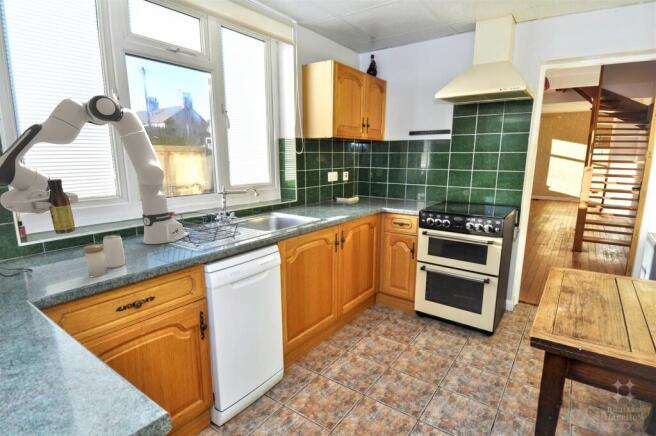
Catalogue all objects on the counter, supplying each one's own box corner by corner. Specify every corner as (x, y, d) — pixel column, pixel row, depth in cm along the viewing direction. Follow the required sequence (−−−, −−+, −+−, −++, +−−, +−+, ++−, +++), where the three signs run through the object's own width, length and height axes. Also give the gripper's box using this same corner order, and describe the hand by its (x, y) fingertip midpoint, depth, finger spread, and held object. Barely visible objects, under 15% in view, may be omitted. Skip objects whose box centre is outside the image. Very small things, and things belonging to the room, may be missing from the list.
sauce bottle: (58, 231, 129) (47, 179, 125) (78, 229, 132) (67, 177, 127) (51, 235, 123) (40, 180, 119) (72, 233, 126) (61, 179, 121)
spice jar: (100, 270, 131) (95, 243, 128) (111, 272, 129) (107, 244, 126) (84, 276, 125) (79, 248, 123) (96, 277, 123) (91, 249, 121)
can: (129, 262, 139) (125, 234, 136) (118, 268, 132) (113, 238, 130) (114, 262, 139) (109, 234, 137) (102, 268, 133) (97, 238, 130)
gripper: (0, 198, 119) (25, 199, 114) (62, 189, 138) (86, 190, 133) (4, 215, 121) (30, 217, 116) (65, 205, 139) (89, 206, 135)
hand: (60, 202), depth 125 cm, fingers closed on sauce bottle, 6 cm apart
